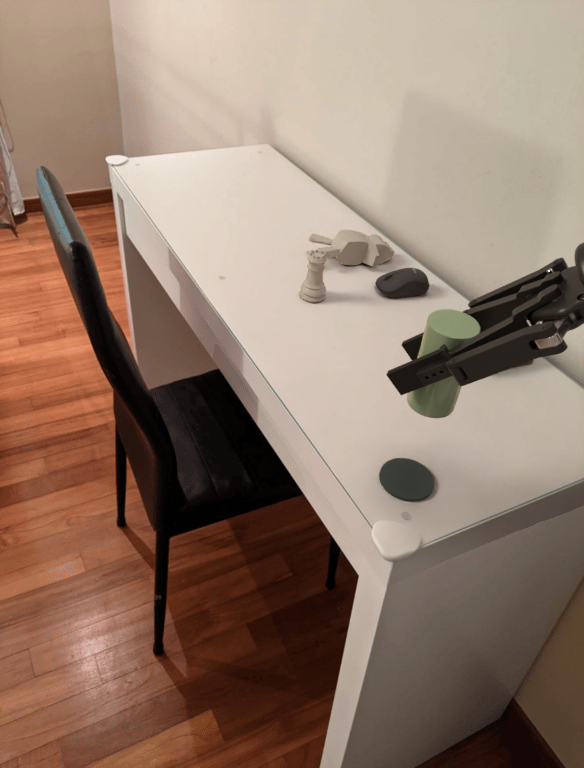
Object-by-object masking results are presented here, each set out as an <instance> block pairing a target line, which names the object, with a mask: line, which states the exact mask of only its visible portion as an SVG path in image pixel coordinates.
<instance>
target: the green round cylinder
mask: <svg viewBox="0 0 584 768" xmlns="http://www.w3.org/2000/svg"><path fill="white" fill-rule="evenodd" d="M480 330H481V329H480V325H479V323H478V322H477V321H476V320H475V319H474V318H473V317H471V316H470V315H468V314H466V313H463V311H460V310H458V309H457V310H456V309H450V308H442V309H437V310H434V311H432V312H430V313H429V314H428V316H427V319H426V323H425V327H424V330H423V332H424V334H423V338H422V341H421V345H420V349H419V353H418V356H417V358H420V357H422V356H424V355H427V354H429V353H431V352H434V351H436V350H439V348H440V347H441V346H442V345H443V344H445V345H446V347H447V348H448V350H450V349H452V348H454V347H456V346H458V345H459V344H461V343H463V342H465V341H467V340H469V339H471V338H472V337H474V336H476V335H478V334H480ZM462 387H463V386H459V384H458V383H457V381H456V380H455V378H454V377H453V376H451V377H448V378H445V379H443V380H440V381H437V382H435V383H432V384H430V385H427V386H424V387H422V388H419V389H417V390H414V391H411V392H409V393H406V394H407V395H406V402H407V405H408V406H409V407H410V409H411V410H413V412H415V413H416V414H418V415H420V416H422V417H425V418H426V417H427V418H430V419H443V418H447V417H448V416H450V415H452V413H453V412H454V410H455V408H456V405H457V403H458V399H459V396H460V394H461V390H462Z"/></svg>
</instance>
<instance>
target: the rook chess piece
mask: <svg viewBox="0 0 584 768" xmlns="http://www.w3.org/2000/svg"><path fill="white" fill-rule="evenodd" d="M325 255H326V254H325V253H324V251H322V250H321V251H320V252H318V248H316V249H311V250H310V251H309V253H308V255H307V256H306V260H307V262H308V264H307V273H306V277H305V279H304V280H303V282H302V284H301V285H300V287H299V289H300V290H299V297H300V298H301V299H302V300H303V301H305V302H307V303H314V304H315V303H316V304H317V303H319V302H322V301H323V300H325V299H326V297H327V294H326V293H327V288H326V285H325V282H324V270H325V268H326V267H325V264H326V262H327V261H328V259H327V258H326V256H325Z"/></svg>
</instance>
